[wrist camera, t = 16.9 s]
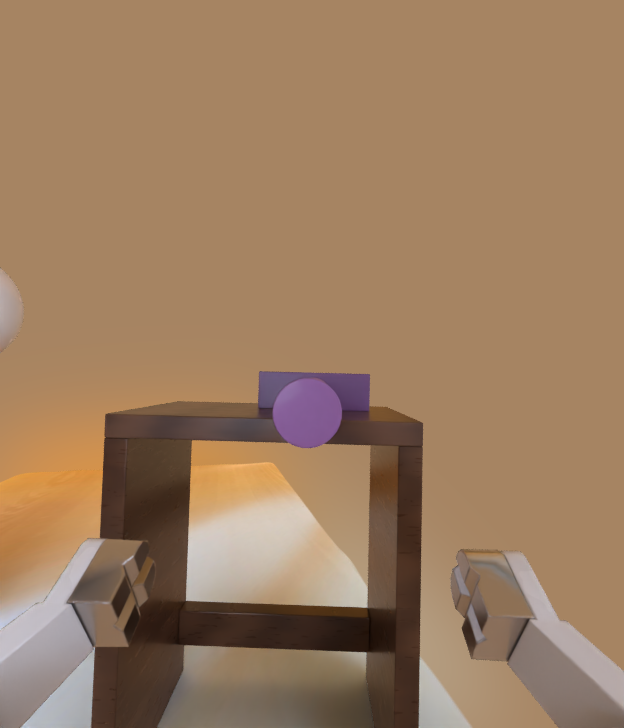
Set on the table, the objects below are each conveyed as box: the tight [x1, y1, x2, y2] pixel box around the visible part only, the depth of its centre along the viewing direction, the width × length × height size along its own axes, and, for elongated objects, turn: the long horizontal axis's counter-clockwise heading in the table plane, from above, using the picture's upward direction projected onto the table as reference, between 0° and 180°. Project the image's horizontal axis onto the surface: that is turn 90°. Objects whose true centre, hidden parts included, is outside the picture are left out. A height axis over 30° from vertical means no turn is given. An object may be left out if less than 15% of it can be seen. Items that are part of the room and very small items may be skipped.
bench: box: [91, 401, 423, 728], centre depth 28 cm, size 20×12×25 cm, turn 89°
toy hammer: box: [258, 371, 370, 448], centre depth 24 cm, size 20×9×3 cm, turn 179°
